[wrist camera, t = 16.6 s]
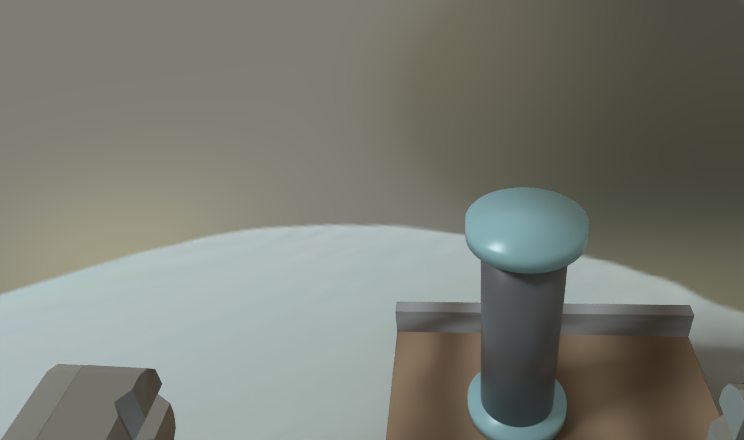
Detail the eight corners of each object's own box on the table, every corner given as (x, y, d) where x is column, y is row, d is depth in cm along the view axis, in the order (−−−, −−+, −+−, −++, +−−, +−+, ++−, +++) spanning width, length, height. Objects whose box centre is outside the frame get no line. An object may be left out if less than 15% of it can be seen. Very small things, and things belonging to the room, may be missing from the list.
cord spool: (467, 447, 38) (465, 257, 30) (467, 370, 43) (465, 188, 35) (571, 451, 38) (598, 256, 29) (559, 372, 42) (579, 186, 34)
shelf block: (385, 535, 39) (377, 476, 35) (401, 359, 50) (396, 301, 46) (741, 557, 36) (770, 496, 32) (673, 365, 47) (689, 305, 44)
